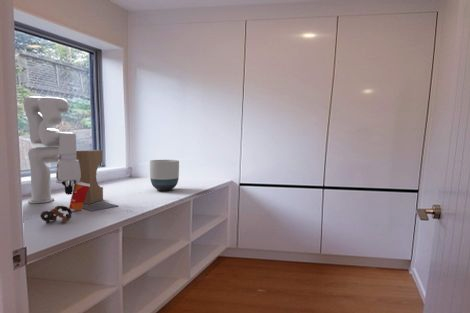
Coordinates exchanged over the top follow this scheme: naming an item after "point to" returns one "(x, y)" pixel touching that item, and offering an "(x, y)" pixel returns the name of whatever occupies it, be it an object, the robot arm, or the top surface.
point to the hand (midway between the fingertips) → (68, 194)
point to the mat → (98, 206)
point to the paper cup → (78, 195)
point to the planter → (164, 174)
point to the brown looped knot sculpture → (54, 212)
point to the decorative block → (90, 174)
